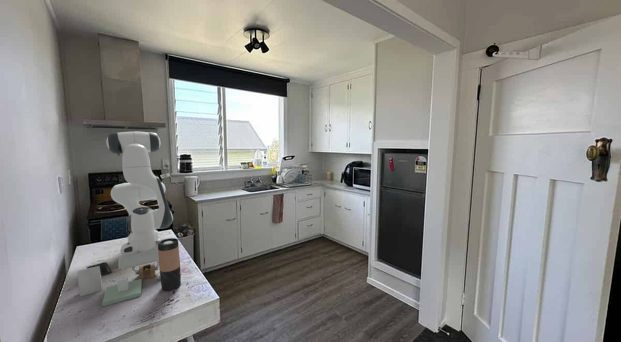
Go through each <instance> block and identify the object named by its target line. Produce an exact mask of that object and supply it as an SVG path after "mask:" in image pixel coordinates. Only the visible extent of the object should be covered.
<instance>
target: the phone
mask: <svg viewBox="0 0 621 342" xmlns="http://www.w3.org/2000/svg"><path fill="white" fill-rule="evenodd" d="M97 266H100V272H101V278H102V277H105V276H108V275H111V274H112V270H111V268H110V266H109V263H108V262H107V261H103V262H100V263H97V264H92V265H89V266H86V269H88V268H93V267H97Z"/></svg>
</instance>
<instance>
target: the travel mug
mask: <svg viewBox="0 0 621 342" xmlns="http://www.w3.org/2000/svg"><path fill="white" fill-rule="evenodd" d="M161 240H162V241H161V242H160V243H158V255H159V266H158V271H159V277H160V278H159V279H160V284H161V290H162V292H171V291H175V290H177V289H179V288H180V287H181V284H182V283H181V281H182V280H181V279H182V277H181V274H182V273H181V259H180V258H181V257H180V247H179V239H178V238H174V237H173V238H172V237H171V238H170V237H169V238H166V239H165V238H164V239H161Z"/></svg>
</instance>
